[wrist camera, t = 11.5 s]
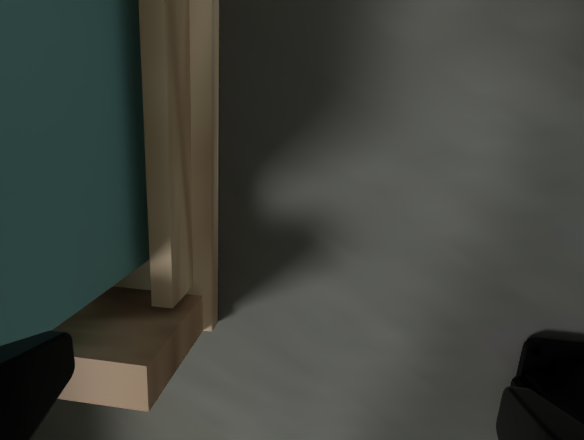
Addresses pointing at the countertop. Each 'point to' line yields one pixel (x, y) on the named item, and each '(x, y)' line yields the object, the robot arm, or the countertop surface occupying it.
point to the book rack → (162, 221)
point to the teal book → (68, 158)
